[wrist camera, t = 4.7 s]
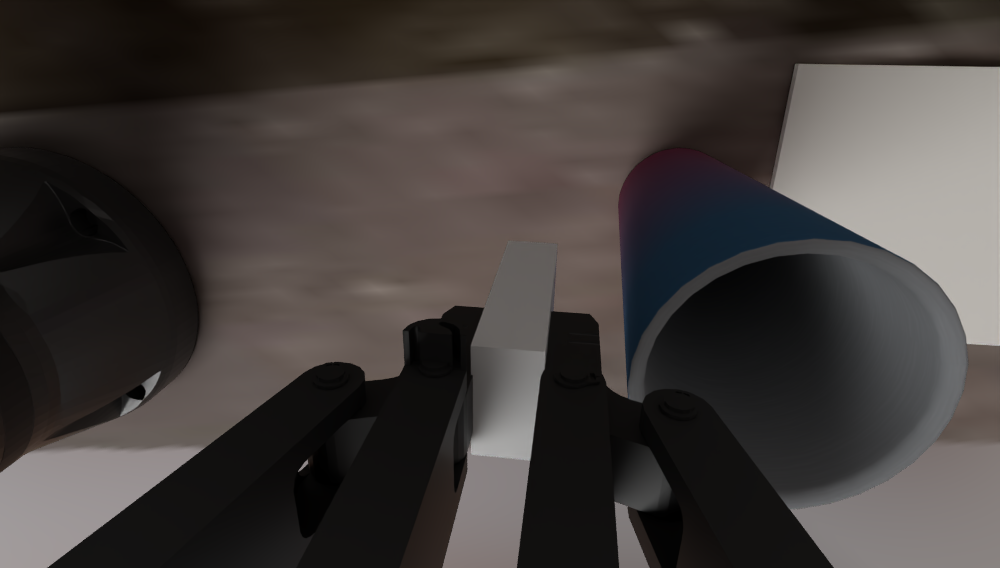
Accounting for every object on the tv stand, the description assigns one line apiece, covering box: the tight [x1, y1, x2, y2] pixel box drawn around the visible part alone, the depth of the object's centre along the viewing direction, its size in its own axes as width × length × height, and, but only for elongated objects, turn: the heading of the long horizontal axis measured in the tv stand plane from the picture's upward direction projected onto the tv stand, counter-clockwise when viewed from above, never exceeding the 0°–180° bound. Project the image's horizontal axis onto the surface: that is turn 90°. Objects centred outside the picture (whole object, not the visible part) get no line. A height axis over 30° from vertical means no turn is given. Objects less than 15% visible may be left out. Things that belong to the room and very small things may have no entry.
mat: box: [770, 64, 1000, 346], centre depth 24 cm, size 16×12×1 cm
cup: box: [618, 148, 968, 509], centre depth 19 cm, size 7×7×15 cm
